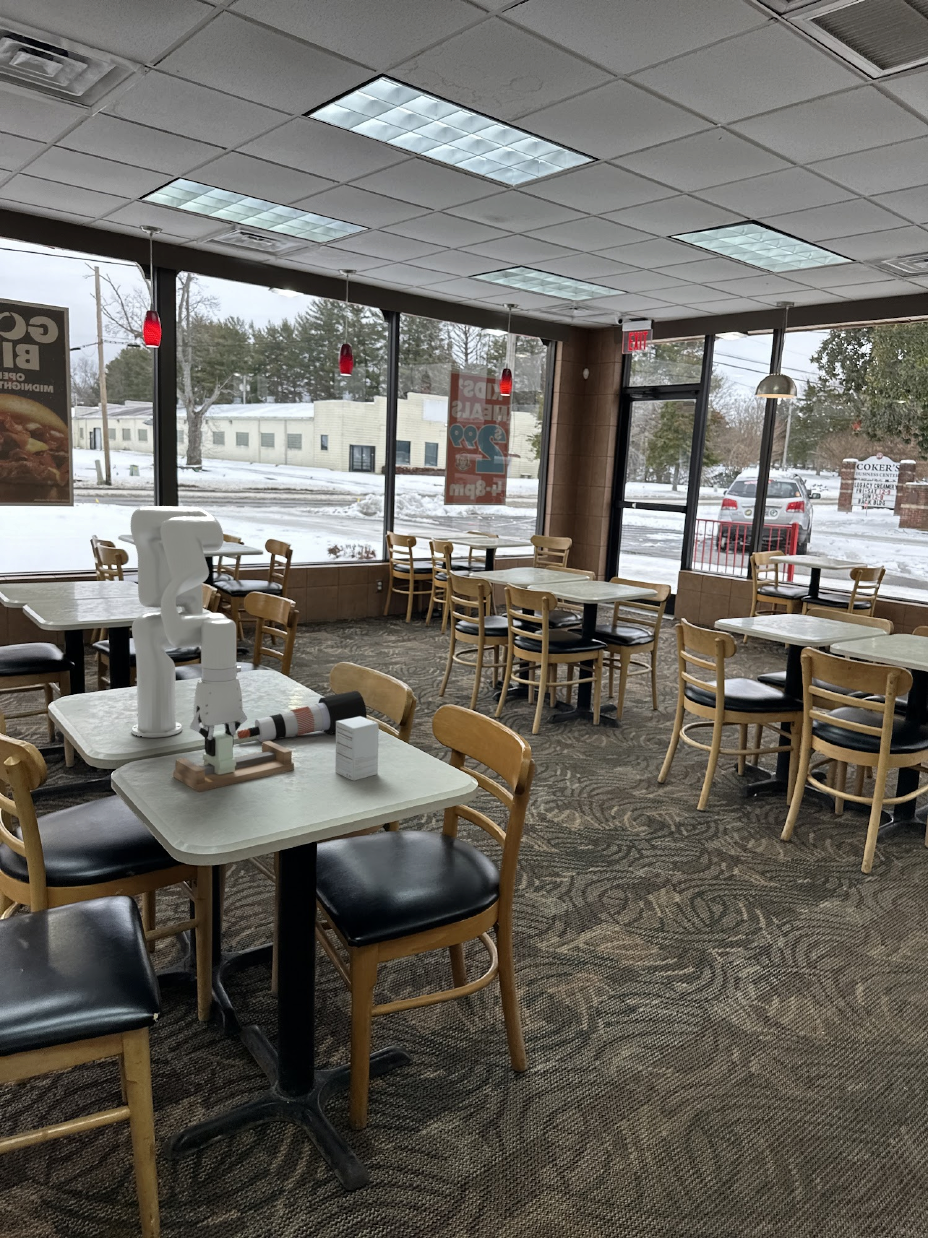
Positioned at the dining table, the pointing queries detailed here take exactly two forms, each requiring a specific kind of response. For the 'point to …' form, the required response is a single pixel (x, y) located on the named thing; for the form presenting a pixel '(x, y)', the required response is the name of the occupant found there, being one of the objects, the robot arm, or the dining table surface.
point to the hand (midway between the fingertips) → (219, 752)
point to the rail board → (236, 768)
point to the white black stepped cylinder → (308, 718)
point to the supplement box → (357, 748)
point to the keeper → (222, 754)
